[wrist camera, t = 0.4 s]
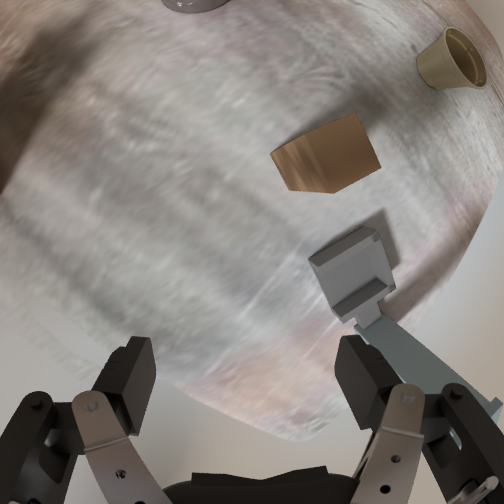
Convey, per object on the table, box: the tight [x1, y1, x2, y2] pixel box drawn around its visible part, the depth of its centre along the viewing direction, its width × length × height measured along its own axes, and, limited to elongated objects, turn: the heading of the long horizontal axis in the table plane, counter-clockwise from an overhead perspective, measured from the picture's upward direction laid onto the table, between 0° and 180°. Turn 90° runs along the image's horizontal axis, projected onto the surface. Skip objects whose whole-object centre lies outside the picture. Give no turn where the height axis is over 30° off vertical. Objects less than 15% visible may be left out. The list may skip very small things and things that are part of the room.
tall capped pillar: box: [308, 226, 503, 450], centre depth 23 cm, size 17×8×23 cm, turn 28°
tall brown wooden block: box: [270, 112, 381, 194], centre depth 24 cm, size 4×4×12 cm
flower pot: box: [416, 26, 488, 89], centre depth 24 cm, size 9×9×9 cm
